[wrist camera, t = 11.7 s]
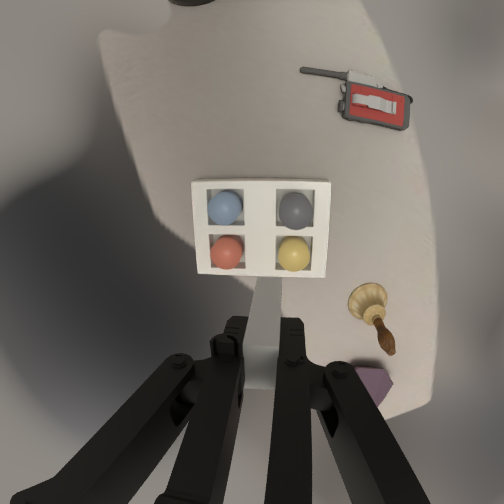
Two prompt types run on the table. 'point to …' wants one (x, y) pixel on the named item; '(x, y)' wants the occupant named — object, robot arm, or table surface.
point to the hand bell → (372, 312)
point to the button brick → (227, 251)
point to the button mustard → (293, 253)
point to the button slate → (225, 207)
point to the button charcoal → (295, 211)
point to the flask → (375, 382)
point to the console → (261, 224)
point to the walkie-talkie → (369, 100)
